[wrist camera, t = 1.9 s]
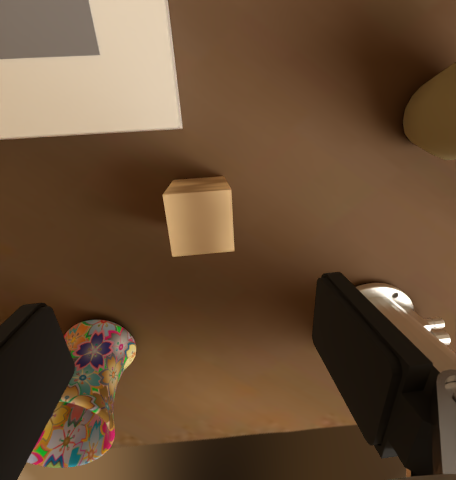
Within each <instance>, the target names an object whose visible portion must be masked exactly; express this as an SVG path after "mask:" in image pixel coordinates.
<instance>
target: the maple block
mask: <svg viewBox="0 0 456 480" xmlns="http://www.w3.org/2000/svg"><path fill="white" fill-rule="evenodd" d="M163 201H164V207H165V213H166V220H167V226H168V232H169V238H170V245H171V251H172V257H176V256H187V255H198V254H208V253H219V252H230V251H234V233H233V214H232V195H231V188H230V186H229V185H228V183H227V181H226V179H225V177H224V176H220V177H206V178H192V179H178V180H173V181H172V182H171V184H170V185H169V186H168V188H167V189H166V191H165V192H164V193H163Z"/></svg>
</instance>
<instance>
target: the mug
mask: <svg viewBox="0 0 456 480" xmlns="http://www.w3.org/2000/svg"><path fill="white" fill-rule="evenodd" d="M64 339H65V341H66V343H67V346H68V348H69V351H70V353H71V356H72V358H73V361H74V363H75V371H74V374H73V377H72V378H71V380H70V382H69V384H68V386H67V388H66V390H65V391H64V393H63V395H62V397H61V399H60V401H59V403H58V404H57V406H56V408H55V410H54V412H53V414H52V416H51V418H50V419H49V421H48V423H47V425H46V427H45V429H44V431H43V432H42V434H41V436H40V438H39V440H38V442H37V444H36V445H35V447H34V449H33V451H32V453H31V455H30V457H29V458H28V460H27V462H29V463H31V464H35V465H39V466H45V467H54V468H63V467H74V466H80V465H84V464H87V463H89V462H92V461H94V460H96V459H98V458H99V457H101V456H102V455H104V454H105V453H106V452H107V451H108V450H109V448H110V447H111V445H112V443H113V441H114V437H115V427H114V417H113V406H114V397H115V392H116V388H117V384H118V381H119V379H120V377H121V375H122V373H123V371H124V370H125V369H126V368H127V367H128V366H129V365H130V364H131V363H132V361H133V360H134V358H135V355H136V344H135V341H134V339H133V337H132V335H131V334H130V333H129V332H128V331H127V330H126V329H125V328H123V327H122V326H120V325H118V324H116V323H114V322H110V321H106V320H88V321H83V322H80V323H78V324H76V325H74V326H73V327H71V328H70V329H69V330H68V331H67V332H66V334H65V335H64Z"/></svg>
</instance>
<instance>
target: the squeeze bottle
mask: <svg viewBox="0 0 456 480" xmlns="http://www.w3.org/2000/svg"><path fill="white" fill-rule="evenodd" d="M403 127H404V133H405V135H406V136H407V138H408V139H409V140H410V142H411V143H413V144H415V145H417V146H418V147H420V148H422V149H424V150H425V151H427V152H429V153H430V154H432V155H435V156H437V157H439V158H442V159H444V160H456V62H455V63H454V64H452V65H450V66H449V67H448V68H446V69H445V70H443V71H442V72H441V73H439V74H438V75H436V76H435V77H433V78H432V79H431V80H429V81H428V82H426V83H425V84H423V85H422V86H421V87H420V88H419V89H418V90H417V91H416V92H415V93H414V94H413V95H412V97H411V99H410V101H409V103H408V104H407V106H406V108H405V112H404V118H403Z"/></svg>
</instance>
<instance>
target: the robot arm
mask: <svg viewBox="0 0 456 480" xmlns="http://www.w3.org/2000/svg"><path fill="white" fill-rule="evenodd" d="M444 327H445V323H444V320H443V319H442V318H440V317H433V318H427V319H424V318H422V317H421V316H419V315H418V314H417V313H416V312H414V306H413V304H412V301H411V300H410V298H409V297H408V296H407V295H406V294H405V293H404V292H402V291H401V290H400V289H398V288H397V287H395V286H393V285H389V284H386V283H368V284H364V285H360V286H357V287H355V286H354V285H353V284H352V283H351V282H350V281H349V280H348V279H347V278H346V277H345V276H344V275H343V274H342V273H340V272H334V273H324V274H323V275H322V277H321V278H318V280H317V288H316V299H315V309H314V320H313V331H312V339H313V343H314V345H315V347H316V349H317V351H318V353H319V355H320V356H321V358H322V360H323V362H324V364H325V366H326V368H327V369H328V371H329V373H330V375H331V377H332V379H333V380H334V382H335V384H336V386H337V388H338V390H339V392H340V393H341V395H342V397H343V399H344V401H345V403H346V405H347V406H348V408H349V410H350V412H351V414H352V416H353V418H354V419H355V421H356V423H357V425H358V427H359V429H360V430H361V432H362V434H363V436H364V438H365V439H366V441H367V442H368V443H369V444H370V445H374V446H375V448H376V450H377V451H378V453H379V455H380V457H381V458H388V457H394V456H398V457H399V459H400V460H401V462H402V463H403V465H404V467H405V468H406V477H405V478H398V479H391V480H456V354H455V353H454V352H453V351H452V350H451V349H450V348H448V347H447V346H446V345H448V344H449V343H450V337H449V334H448V333H447V332H446V331H444V330H443V329H439V328H444ZM431 329H437V330H431ZM74 371H75V363H74V361H73V358H72V356H71V353H70V351H69V348H68V346H67V343H66V341H65V339H64V336H63V334H62V331H61V329H60V326H59V324H58V321H57V319H56V316H55V314H54V312H53V309H52V308H51V307H48V306H47V305H46V304H45V303H36V304H26V305H22V306H21V307H20V308H19V309H17V310H16V311H15V312H14V313H13V314H12V315H11V316H10V317H9V318H8V319H7V320H6V321H5V322H4V323H3V324H1V325H0V480H17V479H18V477H19V475H20V473H21V471H22V470H23V468H24V466H25V464H26V462H27V460H28V458H29V457H30V455H31V453H32V451H33V449H34V447H35V445H36V444H37V442H38V440H39V438H40V436H41V434H42V432H43V431H44V429H45V427H46V425H47V423H48V421H49V419H50V418H51V416H52V414H53V412H54V410H55V408H56V406H57V404H58V403H59V401H60V399H61V397H62V395H63V393H64V391H65V390H66V388H67V386H68V384H69V382H70V380H71V378H72V377H73V374H74Z"/></svg>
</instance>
